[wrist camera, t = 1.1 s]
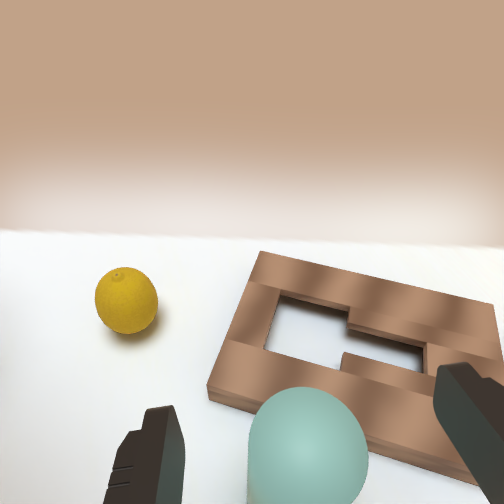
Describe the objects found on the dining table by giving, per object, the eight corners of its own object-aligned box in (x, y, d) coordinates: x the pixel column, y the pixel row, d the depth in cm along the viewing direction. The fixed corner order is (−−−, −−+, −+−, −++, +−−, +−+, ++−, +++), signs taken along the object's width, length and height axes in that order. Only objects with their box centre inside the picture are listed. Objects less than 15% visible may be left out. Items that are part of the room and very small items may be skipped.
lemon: (123, 297, 40) (103, 247, 34) (171, 307, 39) (159, 257, 33) (98, 342, 36) (70, 293, 30) (150, 353, 35) (132, 306, 30)
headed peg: (237, 538, 26) (232, 491, 14) (257, 462, 29) (266, 373, 17) (307, 565, 25) (362, 539, 13) (319, 484, 28) (372, 405, 17)
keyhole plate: (209, 399, 32) (206, 384, 30) (259, 269, 43) (260, 250, 41) (502, 493, 28) (525, 484, 26) (478, 322, 38) (493, 304, 36)
